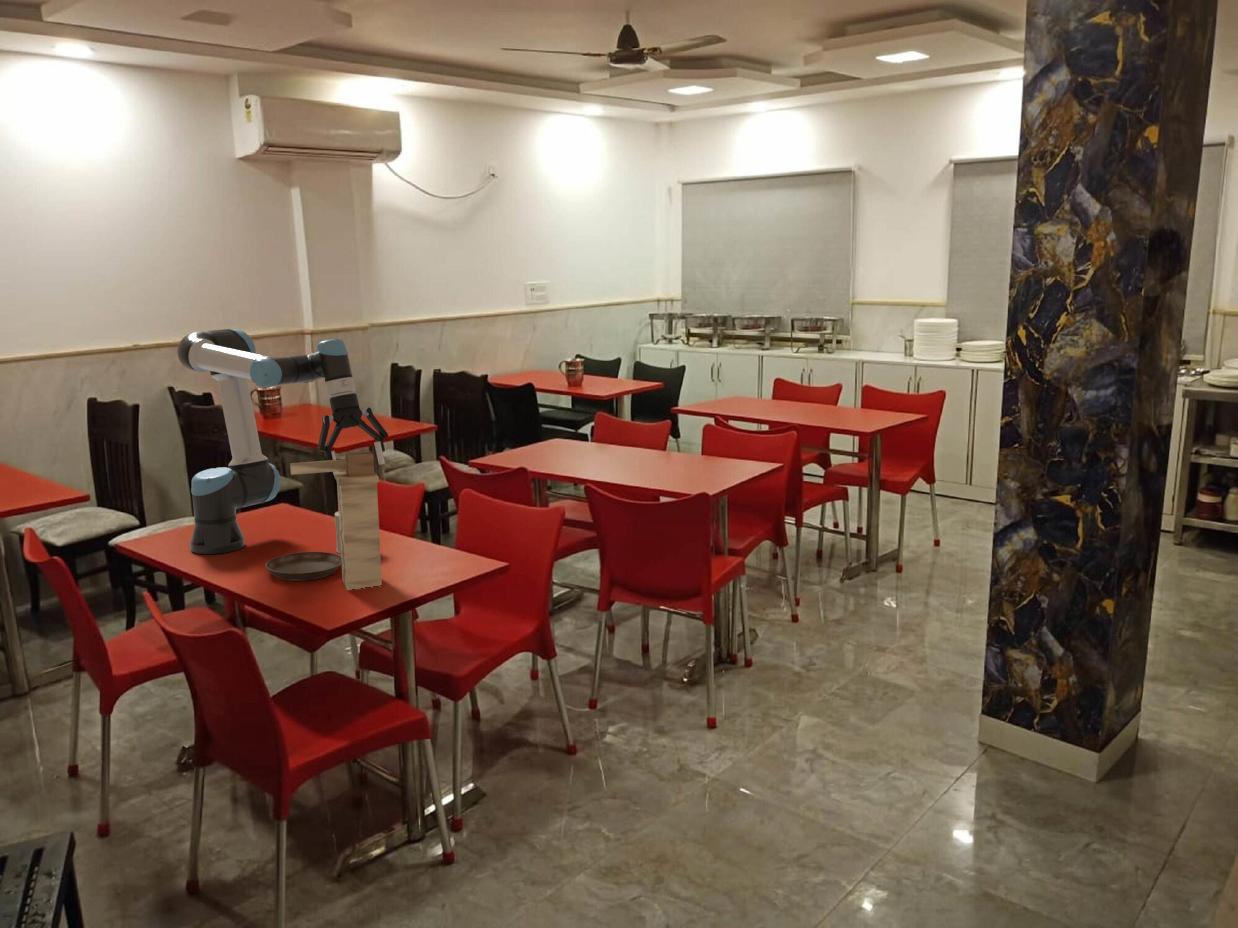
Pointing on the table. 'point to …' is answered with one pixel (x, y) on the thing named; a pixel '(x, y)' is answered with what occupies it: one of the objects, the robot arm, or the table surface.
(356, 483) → the stand
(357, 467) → the mallet
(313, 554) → the plant saucer
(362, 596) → the table surface
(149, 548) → the table surface
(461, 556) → the table surface
